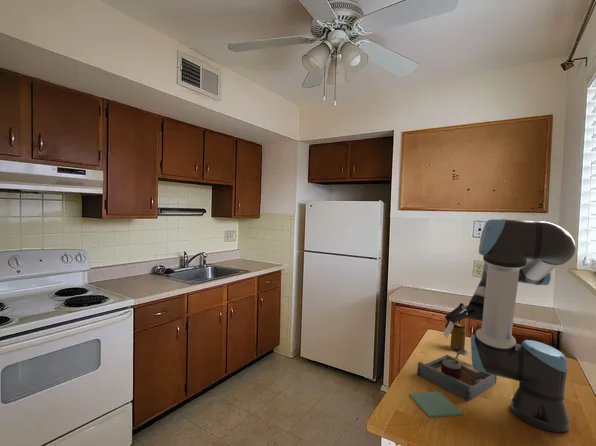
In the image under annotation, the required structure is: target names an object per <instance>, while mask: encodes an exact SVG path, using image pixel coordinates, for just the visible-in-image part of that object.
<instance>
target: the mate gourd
mask: <svg viewBox="0 0 596 446" xmlns="http://www.w3.org/2000/svg"><path fill="white" fill-rule="evenodd" d="M462 351H465V350H461V351H459V352H456V356H455V357H454V358H455V359H452V358H445V359H444V360H443V361H442V365H441V367H440V371H441V372H443V373H445V374H447V375H449V376H452V377H454V378H456V379H458V380H460V379H461V378H462V377H461V371H462V368H461V365H460V363H459V361H457V360H456V359H458V357H459V356H460V354H461V353H460V352H462ZM460 381H461V380H460Z"/></svg>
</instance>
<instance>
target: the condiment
mask: <svg viewBox="0 0 596 446" xmlns="http://www.w3.org/2000/svg"><path fill="white" fill-rule="evenodd" d="M453 325H454V326H453V328H452V330H451V332H450V335H451V336H450V346H448V347H446V349H448V350H451V351H454V352H455V353H458V352H459V351H461V350H465V351H462V352H460V354H462V355H467V354H469V353H471V349H470V350H469V349H467V348H465V346H466V325H464V324H463V323H459V322H455V323H453Z"/></svg>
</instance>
